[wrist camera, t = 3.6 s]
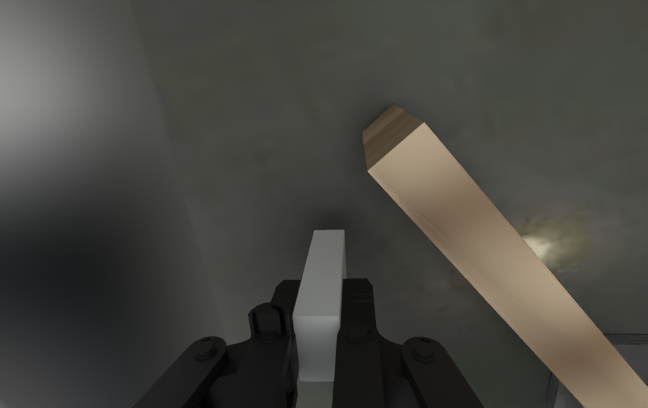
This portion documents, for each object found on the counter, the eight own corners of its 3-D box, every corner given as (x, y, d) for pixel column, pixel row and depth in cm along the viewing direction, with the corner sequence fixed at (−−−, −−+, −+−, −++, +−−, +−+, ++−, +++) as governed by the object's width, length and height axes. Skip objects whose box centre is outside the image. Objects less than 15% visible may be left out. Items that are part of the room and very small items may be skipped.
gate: (612, 359, 22) (755, 515, 14) (580, 375, 23) (700, 533, 15) (393, 103, 18) (424, 122, 10) (361, 131, 19) (367, 171, 11)
